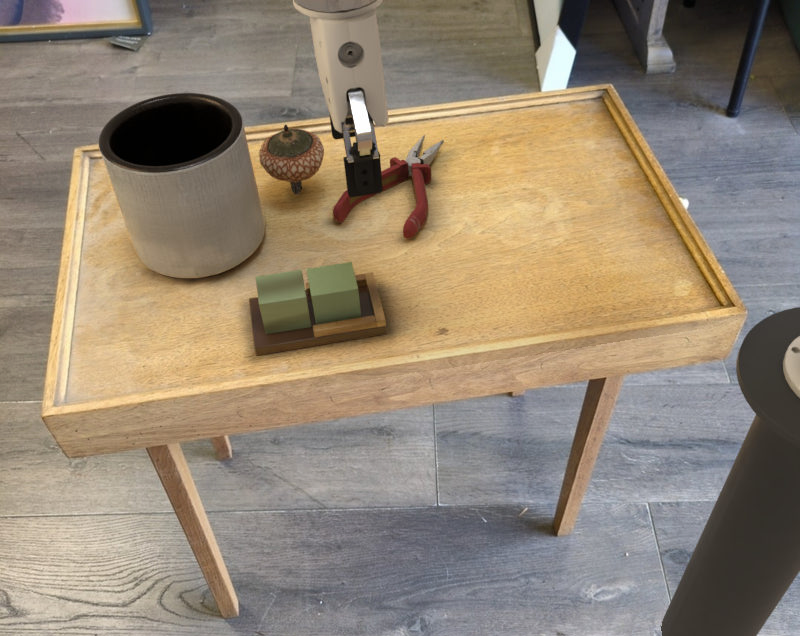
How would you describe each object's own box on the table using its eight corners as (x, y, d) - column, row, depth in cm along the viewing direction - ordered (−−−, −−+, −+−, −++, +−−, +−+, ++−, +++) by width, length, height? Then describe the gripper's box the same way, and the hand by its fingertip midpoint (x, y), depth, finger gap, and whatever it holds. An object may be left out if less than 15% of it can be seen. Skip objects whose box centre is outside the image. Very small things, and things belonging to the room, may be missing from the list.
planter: (121, 227, 106) (80, 116, 94) (239, 187, 110) (214, 76, 98) (159, 302, 96) (119, 189, 84) (287, 255, 101) (265, 142, 89)
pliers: (473, 154, 112) (473, 137, 110) (413, 244, 101) (413, 227, 99) (395, 138, 116) (394, 121, 114) (330, 223, 104) (327, 206, 102)
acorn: (296, 166, 112) (285, 98, 105) (342, 188, 109) (334, 119, 101) (253, 196, 108) (238, 128, 101) (299, 220, 105) (288, 150, 97)
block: (311, 299, 94) (306, 268, 90) (355, 291, 94) (351, 261, 91) (316, 326, 91) (311, 296, 87) (361, 319, 91) (358, 288, 88)
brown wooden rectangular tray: (387, 334, 91) (384, 295, 87) (256, 355, 90) (246, 318, 86) (374, 286, 96) (371, 247, 92) (250, 306, 95) (241, 267, 91)
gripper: (404, 21, 62) (413, 211, 75) (364, -68, 73) (378, 110, 86) (304, 36, 61) (331, 225, 74) (279, -57, 72) (306, 122, 85)
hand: (356, 163), depth 80 cm, fingers open, 9 cm apart
